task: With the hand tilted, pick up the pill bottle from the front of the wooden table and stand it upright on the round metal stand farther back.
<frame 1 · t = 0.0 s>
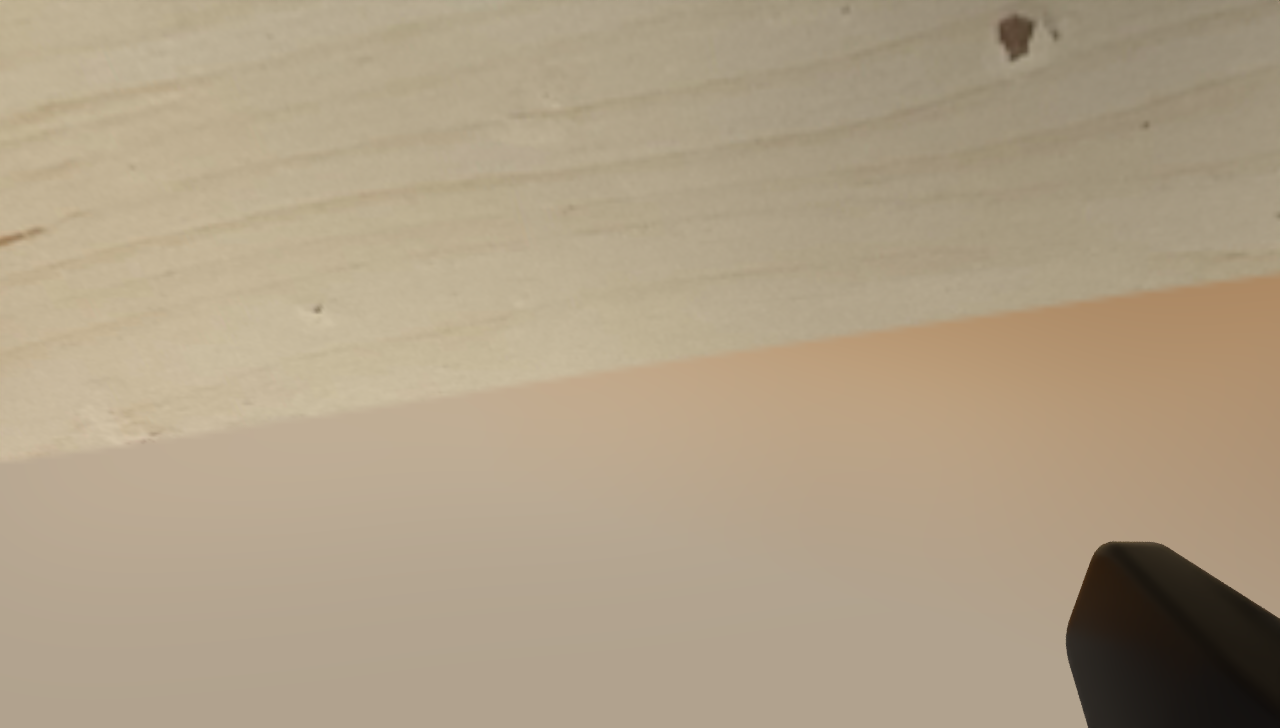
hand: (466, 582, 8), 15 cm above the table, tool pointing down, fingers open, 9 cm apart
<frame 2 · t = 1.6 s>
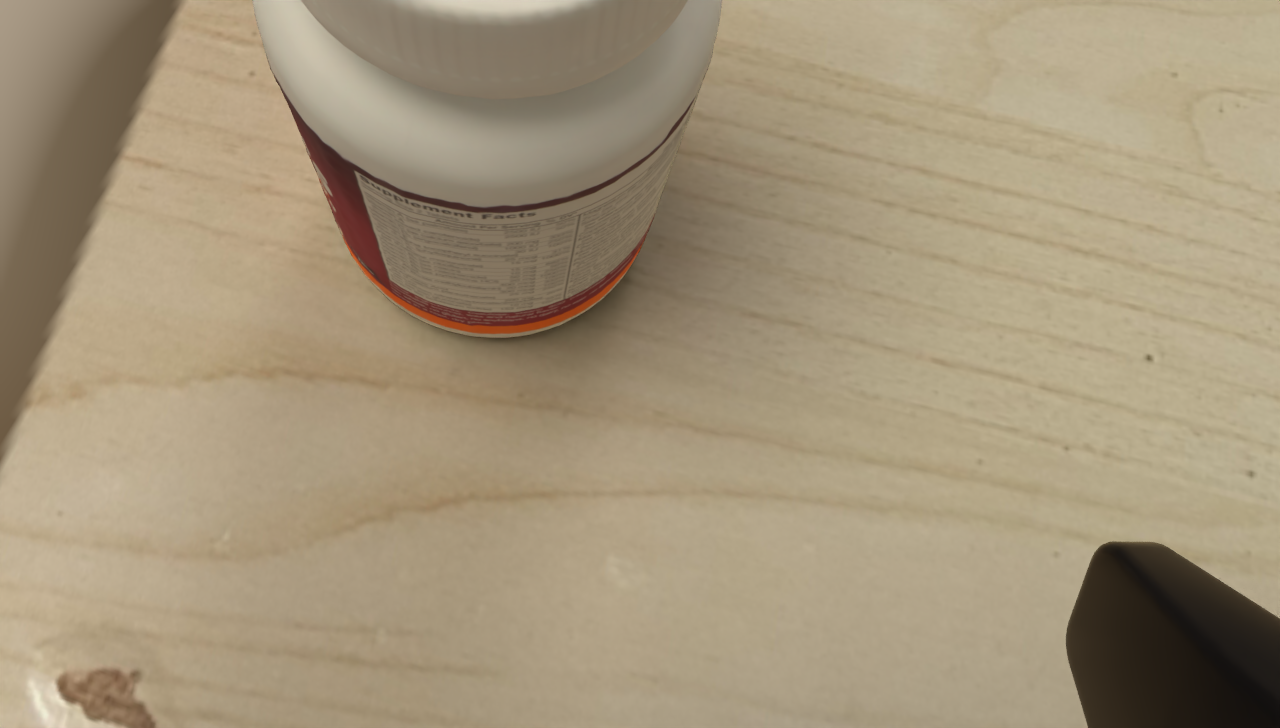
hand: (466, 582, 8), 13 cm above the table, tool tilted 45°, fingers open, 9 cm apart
pill bottle: (496, 199, 23), on the table
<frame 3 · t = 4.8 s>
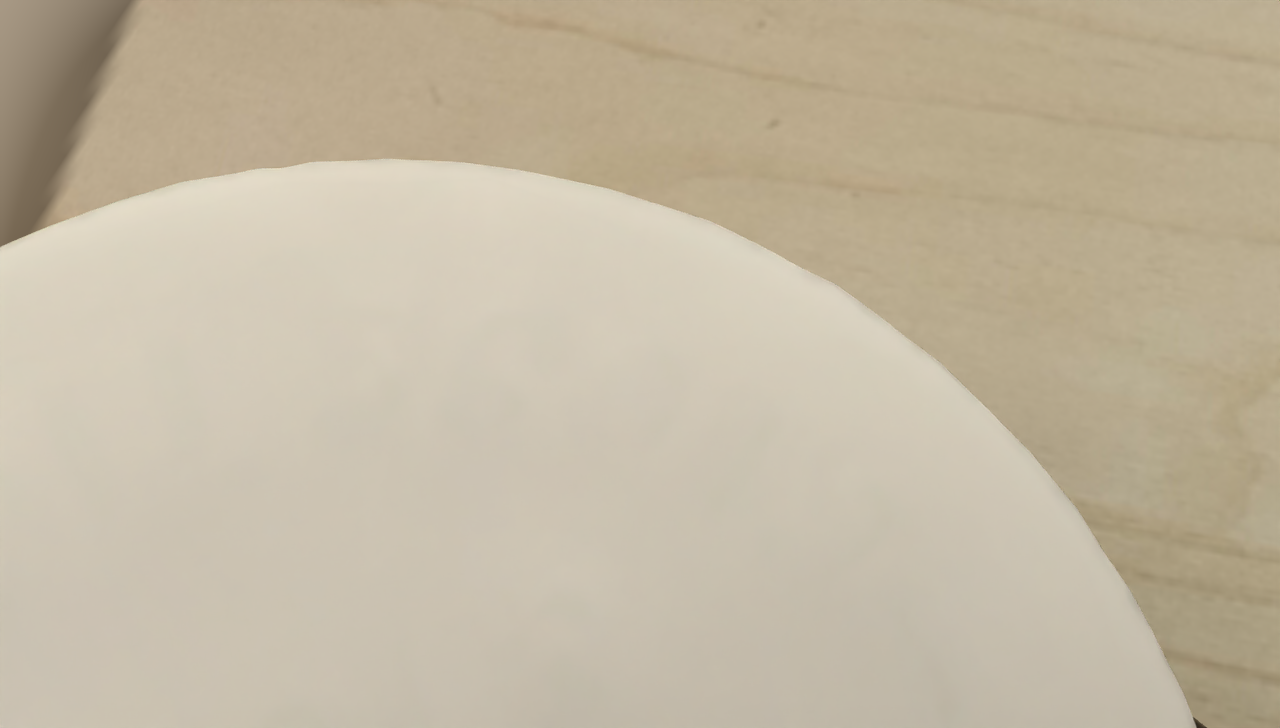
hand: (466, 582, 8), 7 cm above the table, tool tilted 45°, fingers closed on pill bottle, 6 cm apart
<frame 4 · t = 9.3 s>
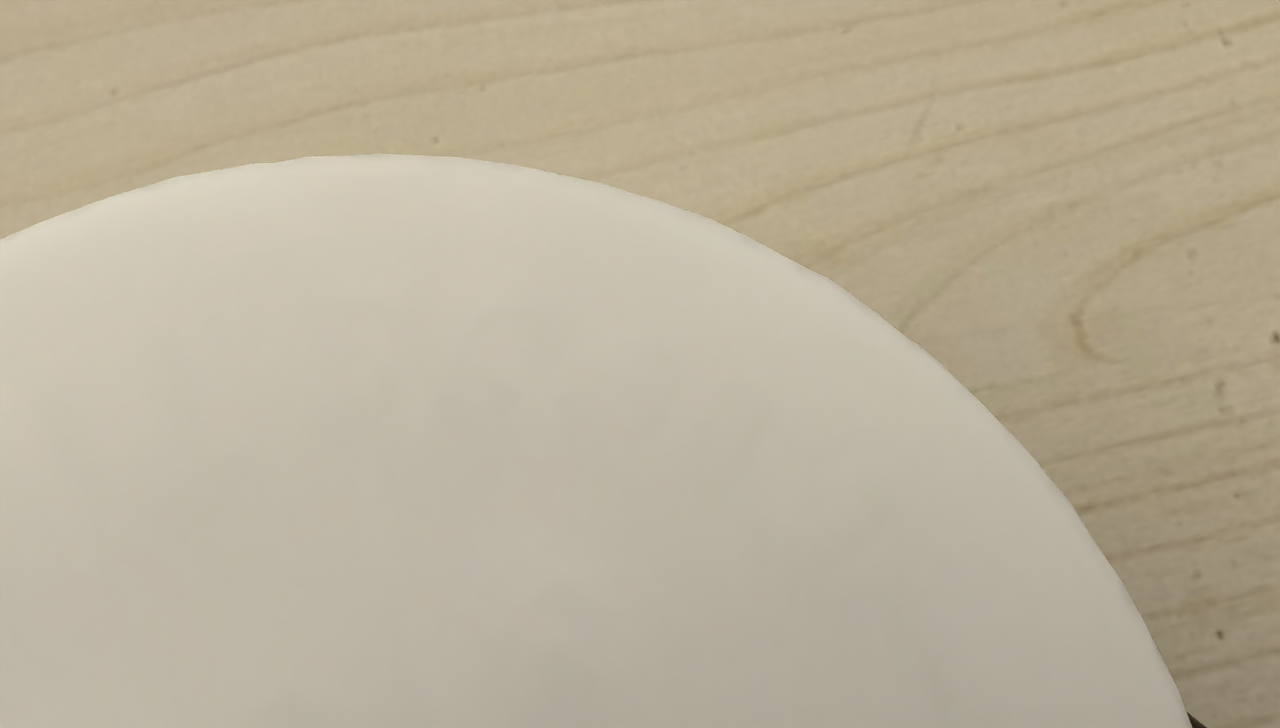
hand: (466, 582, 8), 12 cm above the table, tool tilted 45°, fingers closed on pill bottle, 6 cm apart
pill bottle: (477, 726, 14), point 5 cm above the table, touching gripper
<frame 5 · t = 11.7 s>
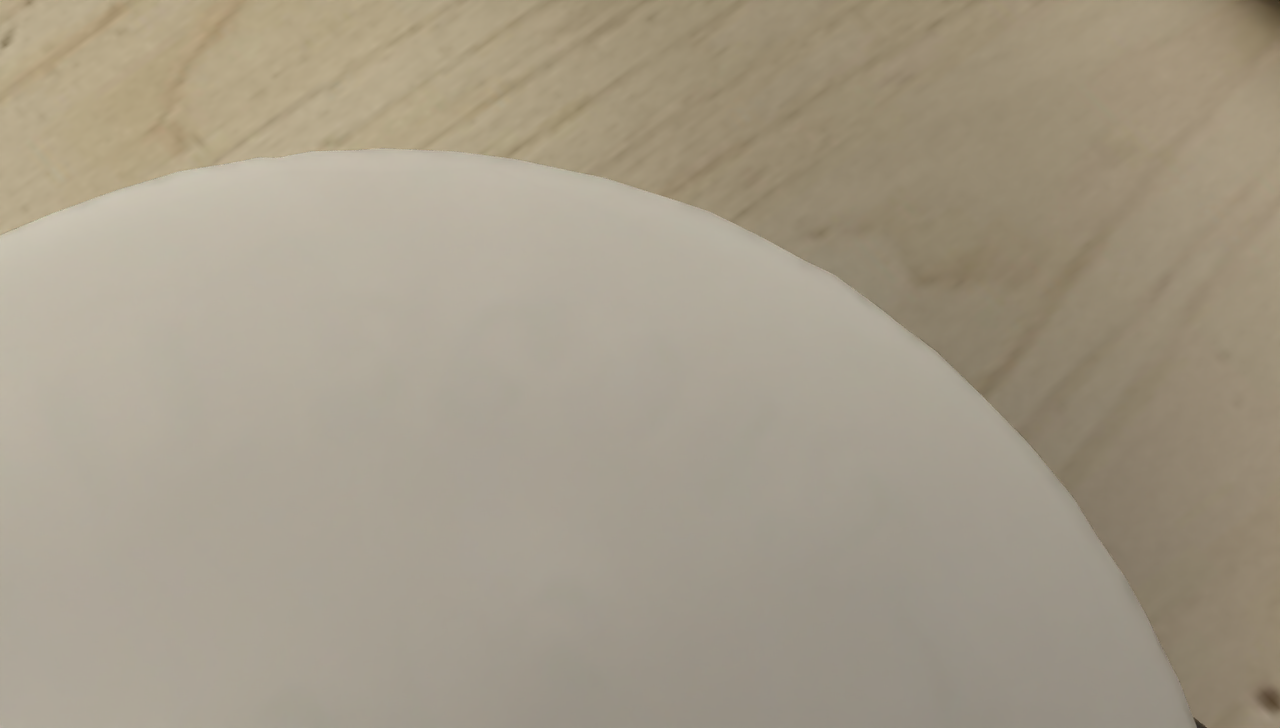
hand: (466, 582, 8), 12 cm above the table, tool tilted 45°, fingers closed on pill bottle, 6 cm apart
pill bottle: (478, 725, 14), point 5 cm above the table, touching gripper
when the fingers open (10 cm above the table, at t = 13.9 s): pill bottle stays where it is, resting on stand.
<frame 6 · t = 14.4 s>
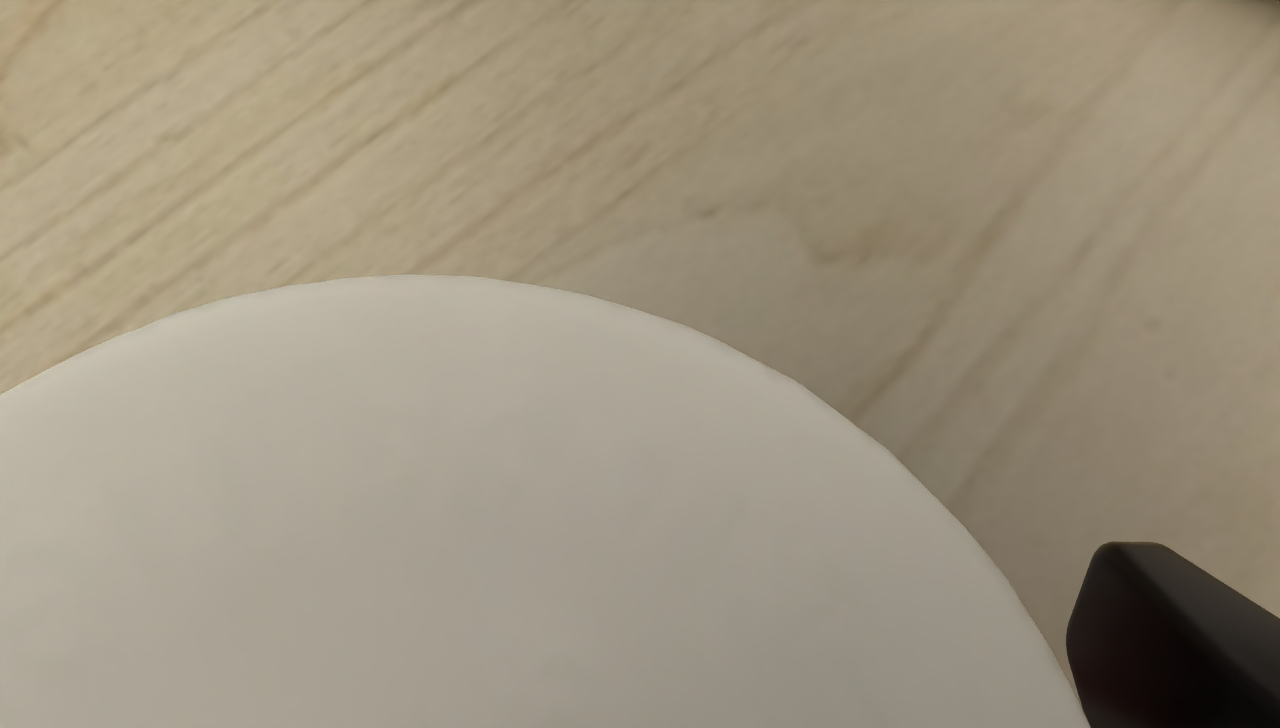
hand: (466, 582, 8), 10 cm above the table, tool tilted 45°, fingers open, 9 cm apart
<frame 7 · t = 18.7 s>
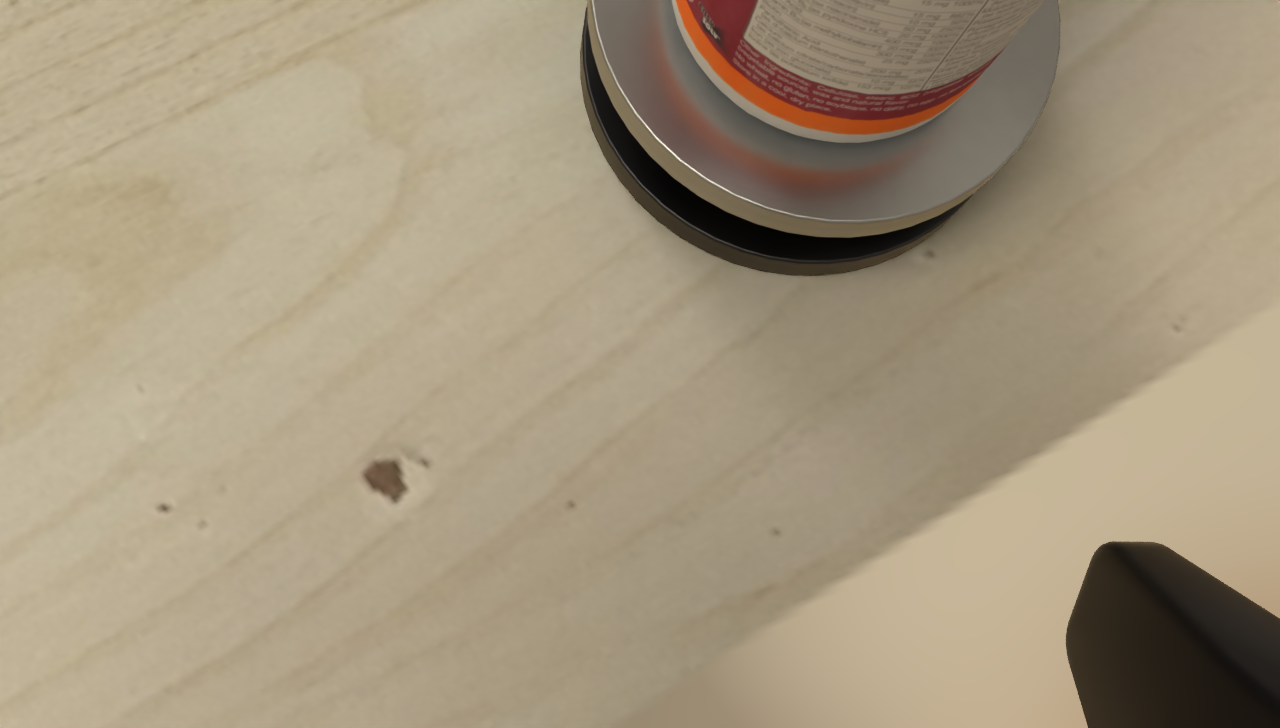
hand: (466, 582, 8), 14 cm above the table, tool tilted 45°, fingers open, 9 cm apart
pill bottle: (825, 9, 22), point 3 cm above the table, touching stand
stand: (792, 73, 24), on the table
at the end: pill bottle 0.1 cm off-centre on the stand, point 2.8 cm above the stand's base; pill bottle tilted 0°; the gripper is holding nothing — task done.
